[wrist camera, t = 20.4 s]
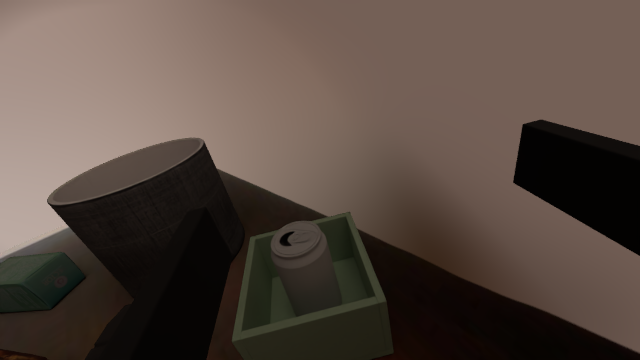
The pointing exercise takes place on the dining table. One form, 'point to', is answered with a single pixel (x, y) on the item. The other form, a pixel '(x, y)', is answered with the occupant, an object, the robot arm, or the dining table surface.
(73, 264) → the box
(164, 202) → the planter
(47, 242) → the dining table surface
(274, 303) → the waste bin
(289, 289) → the beverage can
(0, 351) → the bread
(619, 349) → the dining table surface
